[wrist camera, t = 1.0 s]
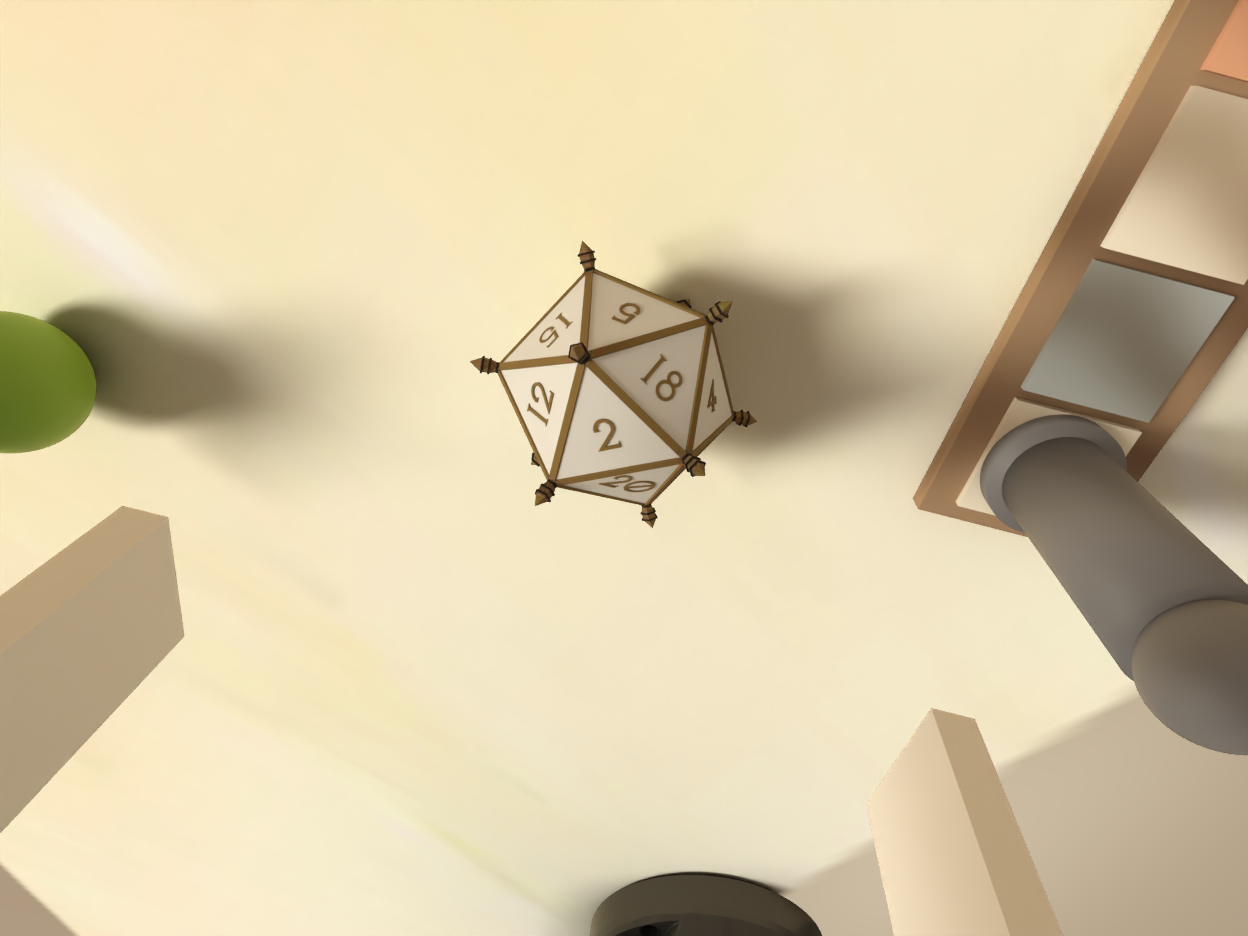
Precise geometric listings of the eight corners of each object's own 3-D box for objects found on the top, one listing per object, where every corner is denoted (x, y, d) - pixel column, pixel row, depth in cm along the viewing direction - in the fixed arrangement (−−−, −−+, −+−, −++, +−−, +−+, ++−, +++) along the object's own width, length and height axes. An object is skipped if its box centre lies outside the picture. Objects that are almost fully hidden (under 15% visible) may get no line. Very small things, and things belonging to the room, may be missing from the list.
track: (1078, 540, 28) (1091, 556, 27) (913, 498, 28) (920, 512, 27) (1526, -104, 18) (1573, -115, 17) (1268, -177, 18) (1299, -191, 17)
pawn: (1071, 535, 27) (1301, 822, 16) (957, 506, 27) (1115, 774, 16) (1142, 432, 25) (1460, 689, 14) (1017, 400, 25) (1245, 634, 14)
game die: (685, 318, 29) (853, 441, 23) (548, 460, 30) (674, 620, 23) (563, 159, 23) (750, 267, 16) (391, 346, 23) (504, 523, 17)
